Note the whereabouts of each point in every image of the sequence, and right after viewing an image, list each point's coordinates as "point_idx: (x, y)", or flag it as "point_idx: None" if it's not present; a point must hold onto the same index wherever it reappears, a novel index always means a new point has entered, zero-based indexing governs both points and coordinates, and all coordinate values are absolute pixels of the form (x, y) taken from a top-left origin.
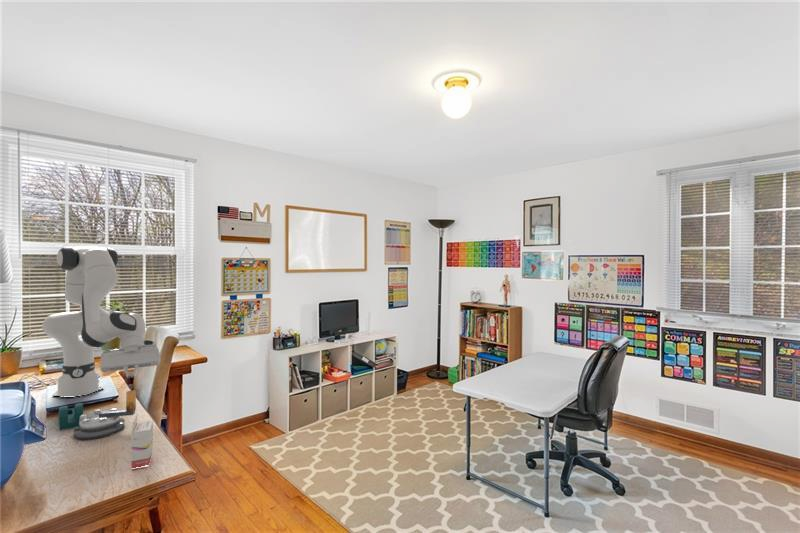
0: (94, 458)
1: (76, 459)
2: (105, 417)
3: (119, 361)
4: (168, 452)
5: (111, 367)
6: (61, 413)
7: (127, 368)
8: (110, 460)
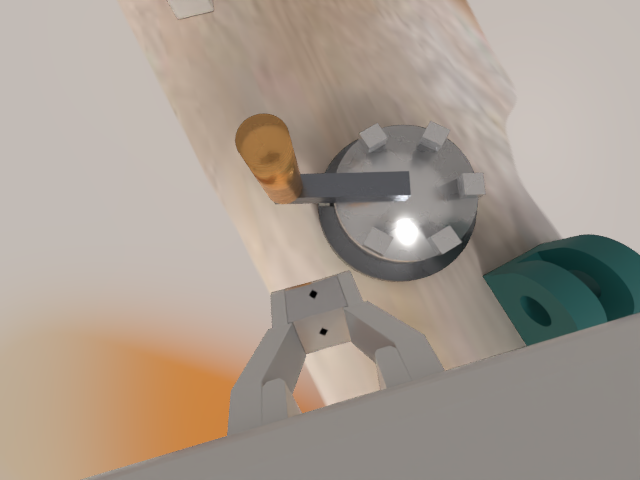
0: (316, 26)
1: (360, 29)
2: (365, 141)
3: (612, 453)
4: (140, 25)
5: (615, 325)
6: (598, 238)
7: (376, 362)
8: (271, 10)
